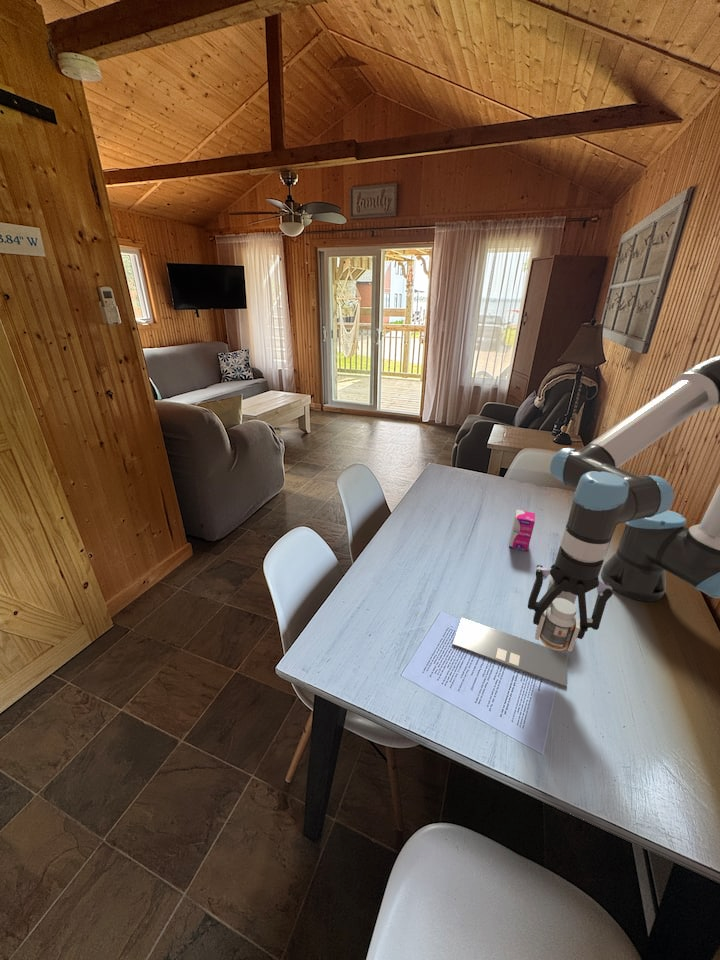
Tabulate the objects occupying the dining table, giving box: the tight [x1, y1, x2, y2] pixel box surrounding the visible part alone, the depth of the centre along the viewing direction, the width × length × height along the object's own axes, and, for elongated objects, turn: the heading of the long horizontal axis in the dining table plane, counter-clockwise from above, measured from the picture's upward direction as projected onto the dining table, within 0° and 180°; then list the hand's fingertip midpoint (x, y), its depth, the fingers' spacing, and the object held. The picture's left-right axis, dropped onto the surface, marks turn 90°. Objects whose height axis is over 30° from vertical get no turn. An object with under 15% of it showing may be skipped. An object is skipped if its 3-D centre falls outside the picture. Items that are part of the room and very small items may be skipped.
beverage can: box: [546, 576, 578, 611], centre depth 97 cm, size 6×6×12 cm
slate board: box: [451, 617, 568, 689], centre depth 90 cm, size 24×9×1 cm, turn 63°
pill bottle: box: [539, 598, 578, 652], centre depth 82 cm, size 6×6×10 cm
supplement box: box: [508, 509, 536, 552], centre depth 125 cm, size 6×6×12 cm
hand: (553, 640), depth 83 cm, fingers closed on pill bottle, 6 cm apart
